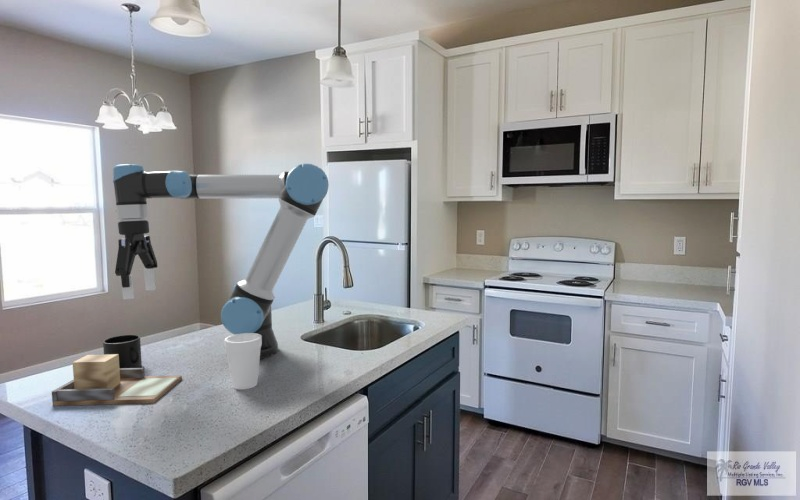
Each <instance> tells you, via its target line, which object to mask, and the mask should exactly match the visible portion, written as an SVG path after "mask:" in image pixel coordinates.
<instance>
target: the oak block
mask: <svg viewBox="0 0 800 500" xmlns="http://www.w3.org/2000/svg"><path fill="white" fill-rule="evenodd" d="M72 373H73V375H72V376H73V379H74V389H102V388H114V387H116V386H117V385H119V384H120V368H119V354H105V355H104V354H86V355H85V356H82V357H80V358H78V359H76V360H74V361H72Z"/></svg>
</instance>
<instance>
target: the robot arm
mask: <svg viewBox="0 0 800 500" xmlns="http://www.w3.org/2000/svg"><path fill="white" fill-rule="evenodd" d="M112 171H113V173H112V174H113V175H112V176H113V178H112V179H113V180H112V182H113V188H114V195H115V205H116V208H115V212H116V214H117V215H116V216H117V220H120V221H118V223H117V228H118V234H119V235H121V236H124V238H119V239H118V241H117V242H118V249H117V256H116V261H115V262H116V264H115V271H114V274H115V276H116V277H119V276H120V284H121V293H122V300H130V299H131V300H134V299H135V298H136V297H135V286H134V277H133V274H131V272H132V270H133V264H134V262H135V259H136V256H137V255H138V257H139V259H140V260H141V261H140V262H141V263H142V264H143V266H144V268H143V276H144V277H143V279H144V286H145V290H144V291H155V290H157V286H156V276H155V275H156V274H155V268H158V261H157V258H156V255H155V251H154V249H153V244H152V243H151V242H152V241H151V236H150V235H145V234H149V233H150V224H149V221H148V220H147V219H148V218H149V212H148V211H149V210H148V204H147V199H168V198H169V199H180V200H191V199H192V200H193V199H194V200H195V199H196V200H197V199H198V200H199V199H200V200H201V199H211V200H212V199H218V200H219V199H232V200H233V199H245V200H246V199H247V200H249V199H278V202H279V206H280V207H279V209H278V211H277V213H276V215H275V218H274V219H273V222H272V223H271V226H270V228H269V230H268V232H267V234H266V235H265V238H264V240H263V241H262V243H261V246H260V247H259V250H258V252H257V254H256V256H255V258H254V259H253V262H252V264H251V266H250V268H249V270H248V272H247V274H246V277H245V278H244V279H242V280H239V281H237V283H236V284H235V285H233V289H232V292H231V295H230V297H229V299H228V300H227V301H226V302H225V304H224V305H223V306H222V308H221V311H220V320H221V323H222V325H223V327H224V328H225V329H226V331H228V332H229V333H231V335H235V334H241V333H256V334H260V335H262V346H261V350H260V359H264V358H269V357H272V356H274V355H276V354H277V353H278V352H279V343H278V341H277V337H276V336H275V335H276V334H275V332H274V330H273V320H272V315H273V314H272V304H273V303H274V300H275V295H274V292H273V290H274V288H275V286H276V285H277V282H278V280H279V279H280V276H281V274H282V272H283V270H284V268H285V266H286V264H287V262H288V260H289V258H290V256H291V253H292V251H293V250H294V248H295V246H296V244H297V242H298V239H299V237H300V236H301V234H302V231H303V229H304V227H305V225H306V223H307V222H308V220H309V219H311V218H315V217H316V214H317V213H318V211H319V209H320V207H321V205H322V202H323V200H324V198H325V197H326V195H327V194H328V190H329V186H330V185H329V179H328V177H327V174H326V172H325V171H324V170H323V169H322V168H320V167H319V166H318V165H315V164H312V163H301V164H298V165H296V166H294V167H293V168H292V169H291V170H289V171H283V172H282V173H281V174H189V172H187V171H185V170H176V169H175V170H174V169H173V170H164V171H163V170H162V171H158V170H157V171H146V170H145V169H144V167H143V165H140V164H136V163H135V164H133V163H132V164H128V163H126V164H117V165H114V166H113V169H112Z"/></svg>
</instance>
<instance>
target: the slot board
mask: <svg viewBox="0 0 800 500" xmlns="http://www.w3.org/2000/svg"><path fill="white" fill-rule="evenodd" d="M181 380H183V375H149V376H148V375H145V367H140V368H120V384H119V385H117V386H116V387H114V388H102V389H74V378H73V379H71V380H70V381H68V382H67V383H64V384H63V385H61V386H59V387H58V388H56V389H54V390H52V391H51V401H52V403H51V404H52V406H53V407H54V406H56V407H57V406H87V405H89V406H90V405H95V406H96V405H127V404H128V405H129V404H130V405H132V404H154V403H156V402H157V401H158V400H159V399H160V398H162V397H163V396H164V395H165V394H166V393H167V392H168V391H170V390H171V389H172V388H174V387H175V385H177V384H178V383H179V382H180V381H181Z"/></svg>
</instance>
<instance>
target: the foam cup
mask: <svg viewBox="0 0 800 500" xmlns="http://www.w3.org/2000/svg"><path fill="white" fill-rule="evenodd" d="M261 346H262V335H260V334H256V333H241V334H235V335H234V334H231V335H228V336H227V337H225V338H224V350H225V353H226V358H227V363H228V369H229V374H230V381H231V386H232V388H233V389H235V390H249V389H252V388H255V387H256V386H257V385H258V380H259V379H258V378H259V369H260V359H261V358H260V350H261Z"/></svg>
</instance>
